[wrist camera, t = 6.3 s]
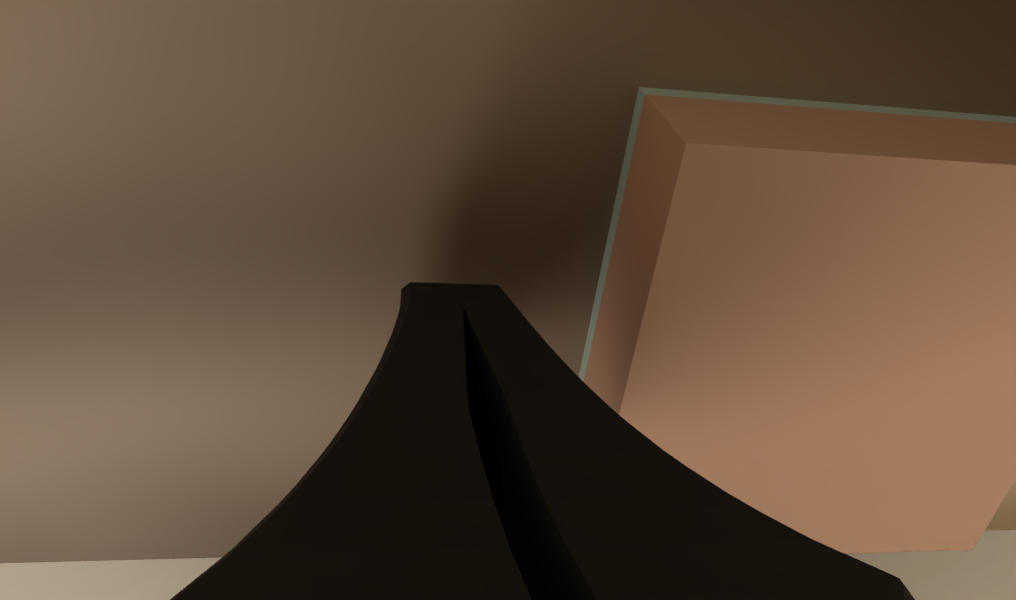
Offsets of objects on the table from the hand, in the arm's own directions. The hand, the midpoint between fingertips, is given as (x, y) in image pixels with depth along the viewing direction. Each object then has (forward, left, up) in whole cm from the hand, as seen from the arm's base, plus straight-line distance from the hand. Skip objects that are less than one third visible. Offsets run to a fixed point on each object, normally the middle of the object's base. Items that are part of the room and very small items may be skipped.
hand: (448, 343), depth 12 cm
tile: (0, -2, 0) cm, 2 cm away
